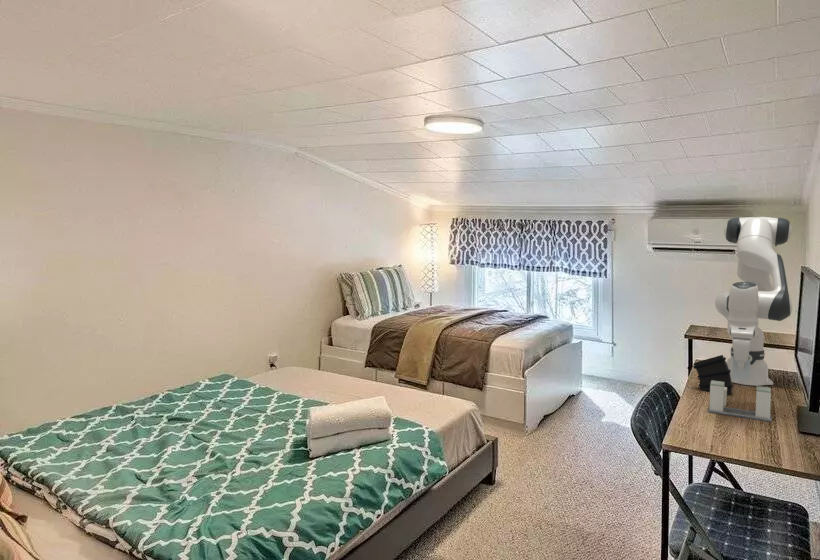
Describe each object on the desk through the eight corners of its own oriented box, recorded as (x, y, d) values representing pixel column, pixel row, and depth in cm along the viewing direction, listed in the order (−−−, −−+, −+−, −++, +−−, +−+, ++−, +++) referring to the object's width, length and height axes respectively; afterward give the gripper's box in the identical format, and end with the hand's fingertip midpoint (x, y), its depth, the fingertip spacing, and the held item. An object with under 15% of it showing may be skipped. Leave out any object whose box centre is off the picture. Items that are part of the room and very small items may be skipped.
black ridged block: (740, 392, 197) (721, 355, 200) (704, 401, 205) (687, 365, 209) (741, 390, 200) (723, 354, 203) (706, 399, 208) (690, 363, 211)
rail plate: (707, 412, 180) (707, 409, 180) (709, 406, 186) (709, 404, 186) (771, 422, 170) (771, 419, 170) (771, 416, 176) (771, 413, 176)
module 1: (709, 410, 181) (710, 383, 180) (710, 406, 185) (711, 380, 184) (722, 412, 179) (723, 385, 178) (723, 408, 183) (724, 381, 182)
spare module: (710, 403, 190) (710, 387, 189) (710, 400, 193) (711, 385, 193) (725, 406, 187) (726, 389, 187) (726, 403, 190) (727, 387, 190)
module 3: (755, 417, 173) (756, 389, 173) (755, 413, 177) (756, 386, 177) (769, 419, 171) (771, 391, 170) (769, 415, 175) (770, 387, 174)
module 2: (732, 378, 177) (732, 356, 176) (732, 375, 180) (733, 354, 180) (749, 380, 174) (750, 358, 173) (749, 377, 177) (750, 356, 177)
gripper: (732, 324, 186) (731, 362, 187) (730, 333, 169) (728, 374, 170) (753, 326, 183) (752, 364, 184) (753, 334, 166) (751, 376, 167)
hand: (741, 369), depth 177 cm, fingers closed on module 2, 4 cm apart
